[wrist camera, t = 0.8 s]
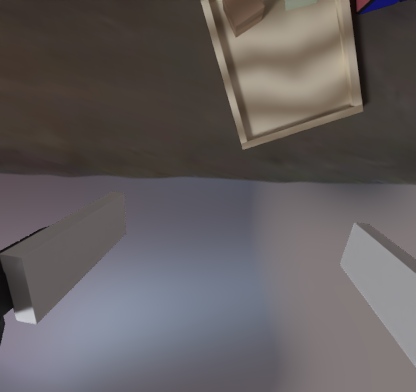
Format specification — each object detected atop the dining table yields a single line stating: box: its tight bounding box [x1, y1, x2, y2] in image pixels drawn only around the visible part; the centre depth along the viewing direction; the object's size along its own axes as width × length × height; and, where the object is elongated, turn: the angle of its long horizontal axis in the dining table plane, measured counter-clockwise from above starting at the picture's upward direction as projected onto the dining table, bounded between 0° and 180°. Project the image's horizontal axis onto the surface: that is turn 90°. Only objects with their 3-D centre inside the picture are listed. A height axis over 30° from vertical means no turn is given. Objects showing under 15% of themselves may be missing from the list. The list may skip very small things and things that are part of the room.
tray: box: [201, 0, 363, 149], centre depth 32 cm, size 22×18×2 cm
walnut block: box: [222, 0, 265, 37], centre depth 29 cm, size 4×4×4 cm
